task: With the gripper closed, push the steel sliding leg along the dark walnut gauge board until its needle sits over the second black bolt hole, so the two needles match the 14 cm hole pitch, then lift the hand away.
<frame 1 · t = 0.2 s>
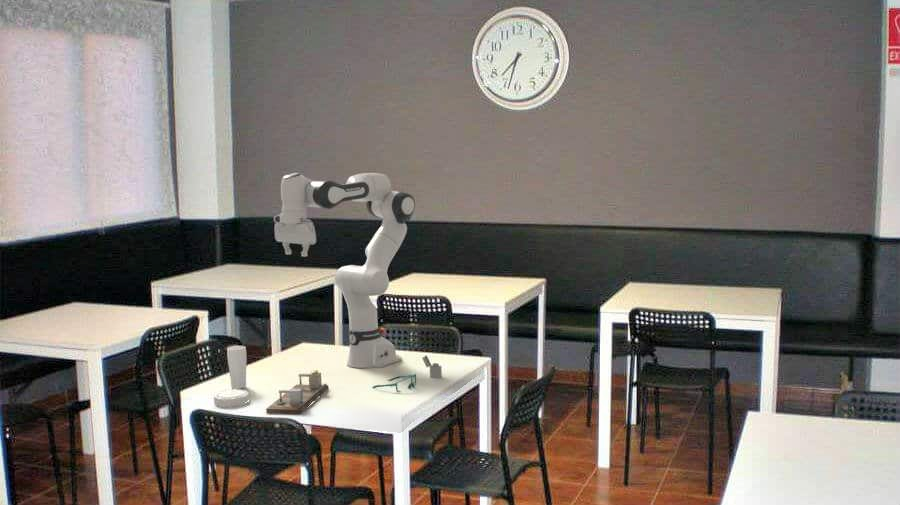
hand: (296, 255, 364), 47 cm above the table, fingers open, 8 cm apart
teal eyeglasses: (396, 387, 359), on the table
drinking glass: (238, 388, 363), on the table
gauge board: (298, 400, 344), on the table
fixed leg: (301, 389, 343), on the gauge board, point 4 cm above the table
lighter: (432, 377, 370), on the table
white round disc: (232, 403, 345), on the table
slider leg: (309, 379, 354), point 5 cm above the table, slide at 0.0 cm
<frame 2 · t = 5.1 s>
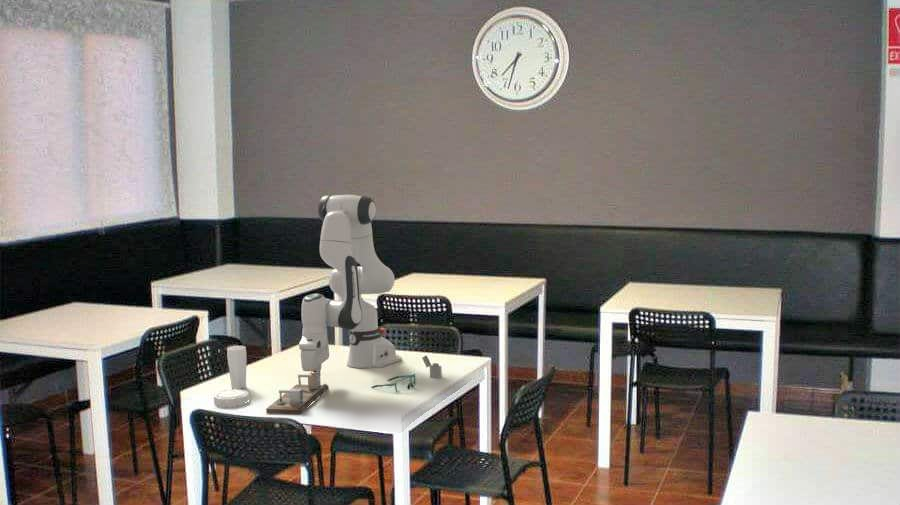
hand: (316, 377, 356), 5 cm above the table, fingers closed
slider leg: (308, 379, 353), point 5 cm above the table, slide at 1.0 cm, touching gripper
everything else where it was.
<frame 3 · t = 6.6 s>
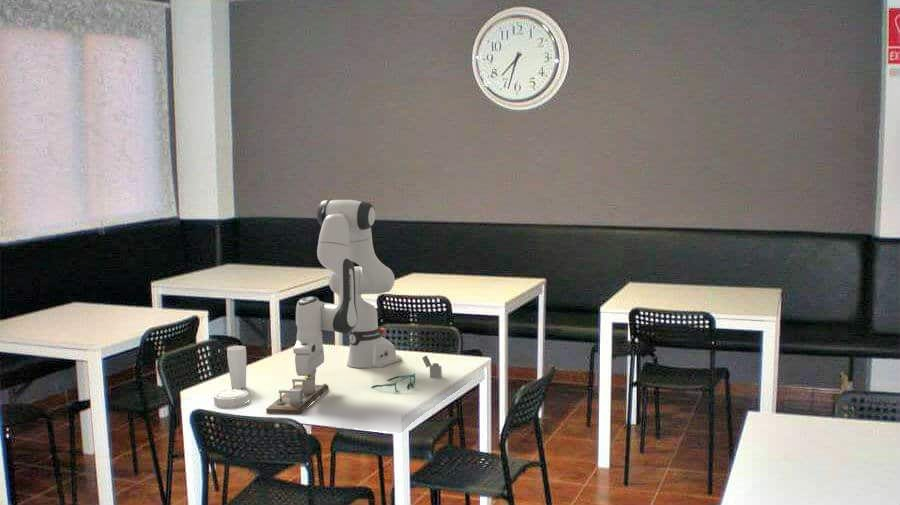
hand: (311, 381, 350), 5 cm above the table, fingers closed
slider leg: (303, 384, 347), point 5 cm above the table, slide at 6.9 cm, touching gripper
everything else where it was.
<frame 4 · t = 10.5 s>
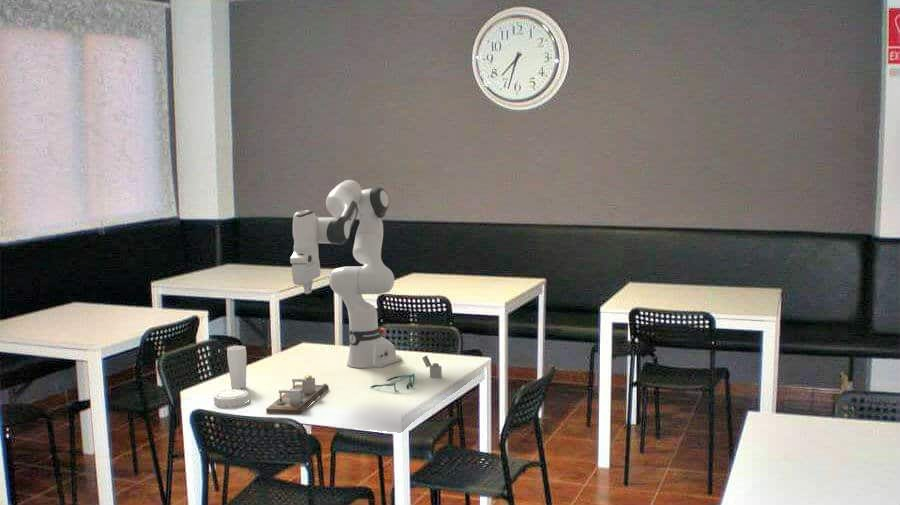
hand: (308, 293, 360), 34 cm above the table, fingers closed
slider leg: (303, 384, 347), point 5 cm above the table, slide at 6.9 cm
everything else where it was.
at the end: slider leg slide at 6.9 cm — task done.
